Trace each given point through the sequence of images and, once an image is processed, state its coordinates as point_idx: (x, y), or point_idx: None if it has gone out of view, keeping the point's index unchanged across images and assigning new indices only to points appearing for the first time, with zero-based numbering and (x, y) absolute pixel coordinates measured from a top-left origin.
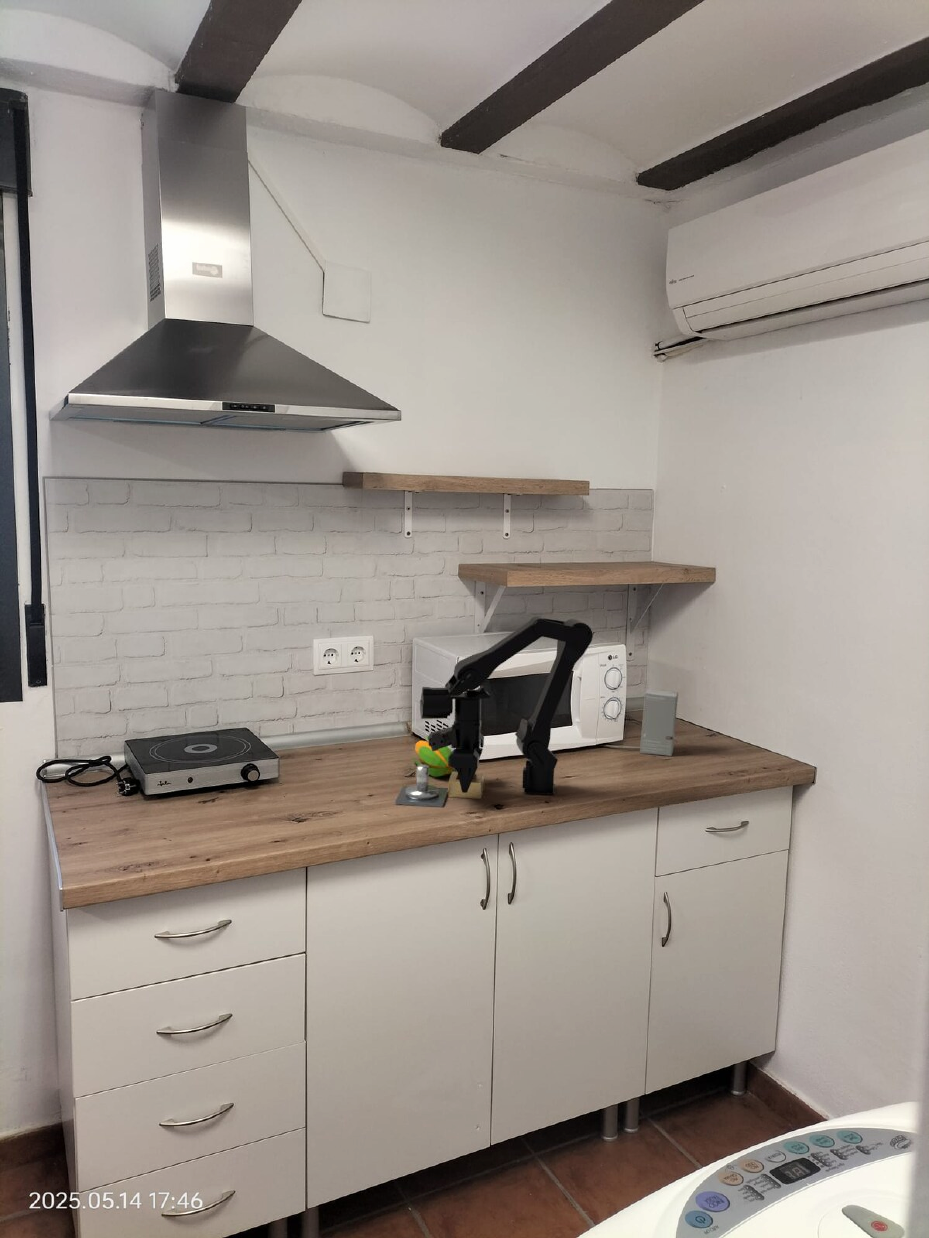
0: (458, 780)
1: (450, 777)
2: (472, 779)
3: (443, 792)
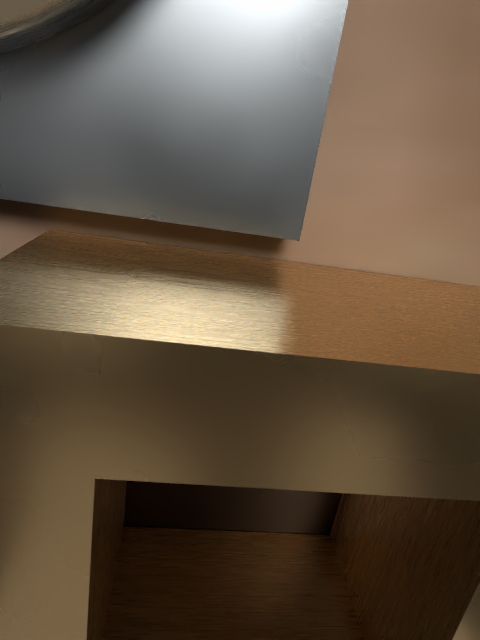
0: (32, 530)
1: (263, 360)
2: (387, 615)
3: (64, 153)
